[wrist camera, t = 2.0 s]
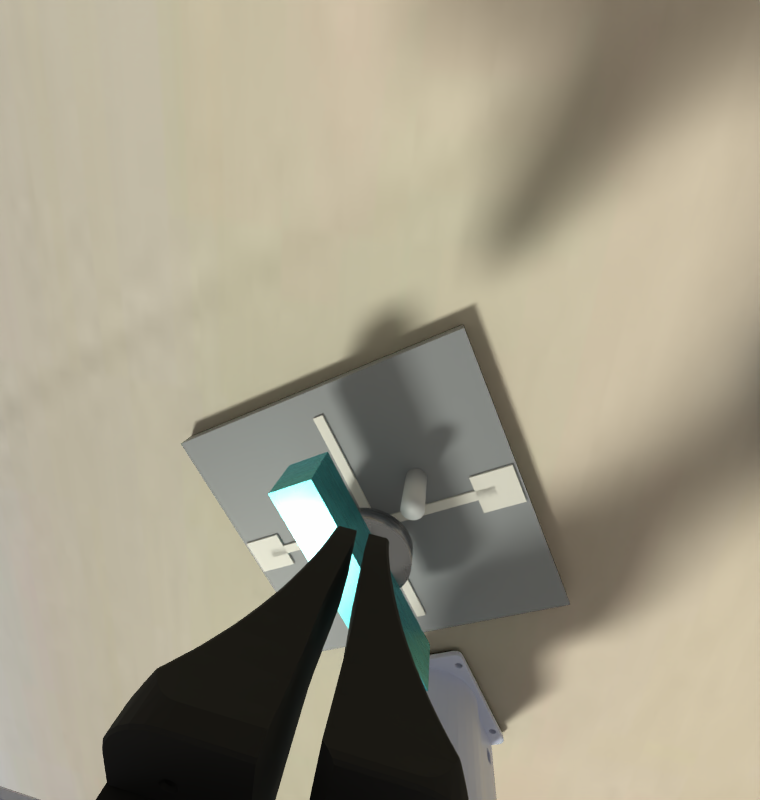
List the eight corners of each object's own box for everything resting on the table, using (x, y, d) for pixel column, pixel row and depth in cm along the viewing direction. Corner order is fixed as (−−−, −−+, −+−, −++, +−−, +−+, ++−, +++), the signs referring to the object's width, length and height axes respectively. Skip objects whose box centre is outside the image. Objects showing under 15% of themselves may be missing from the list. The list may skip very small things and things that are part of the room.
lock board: (565, 591, 24) (587, 652, 20) (318, 639, 29) (300, 696, 25) (463, 324, 19) (467, 340, 16) (190, 436, 24) (145, 468, 21)
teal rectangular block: (452, 621, 22) (454, 687, 19) (376, 636, 24) (365, 699, 20) (358, 431, 19) (340, 469, 16) (275, 461, 21) (242, 502, 17)
